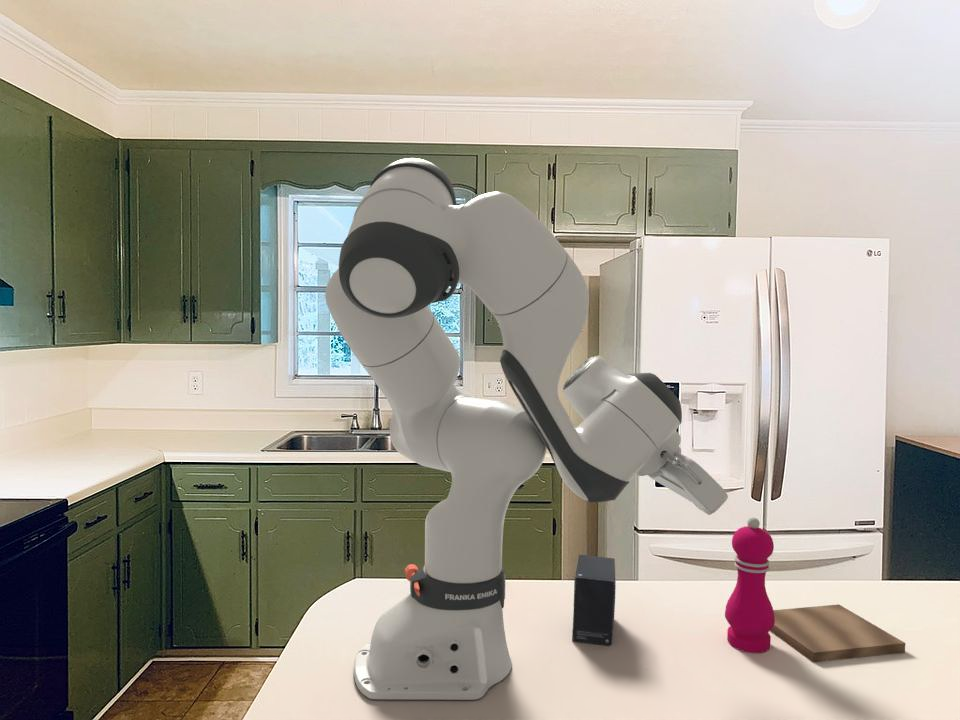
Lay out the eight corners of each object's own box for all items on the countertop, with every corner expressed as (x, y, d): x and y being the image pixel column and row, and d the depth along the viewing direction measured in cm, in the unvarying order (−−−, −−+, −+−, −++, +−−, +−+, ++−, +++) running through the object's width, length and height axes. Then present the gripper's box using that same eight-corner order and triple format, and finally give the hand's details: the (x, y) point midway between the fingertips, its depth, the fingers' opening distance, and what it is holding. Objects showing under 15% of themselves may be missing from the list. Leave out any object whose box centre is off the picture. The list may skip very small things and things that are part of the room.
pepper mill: (775, 658, 102) (781, 527, 100) (724, 650, 104) (729, 521, 102) (771, 637, 108) (777, 513, 107) (723, 629, 111) (728, 508, 109)
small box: (614, 647, 104) (615, 580, 104) (571, 642, 106) (572, 576, 105) (614, 617, 115) (616, 556, 114) (575, 613, 116) (577, 553, 115)
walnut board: (812, 662, 101) (813, 652, 100) (755, 620, 114) (756, 611, 114) (904, 652, 104) (905, 643, 104) (838, 612, 118) (838, 604, 117)
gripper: (697, 444, 90) (762, 514, 93) (637, 420, 110) (691, 477, 113) (665, 478, 90) (730, 548, 92) (610, 447, 110) (665, 505, 112)
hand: (708, 509), depth 103 cm, fingers closed
